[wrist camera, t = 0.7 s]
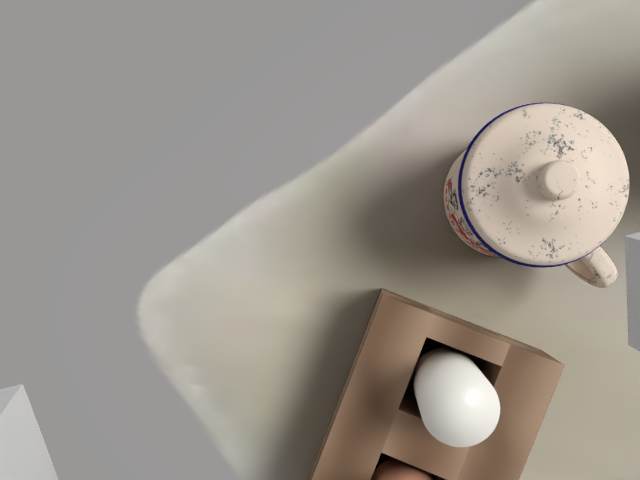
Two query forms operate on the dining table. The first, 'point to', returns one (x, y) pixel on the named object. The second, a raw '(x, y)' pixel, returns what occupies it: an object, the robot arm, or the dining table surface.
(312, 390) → the dining table surface
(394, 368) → the wooden egg holder
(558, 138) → the teacup with lid
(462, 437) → the white egg
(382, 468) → the brown egg
